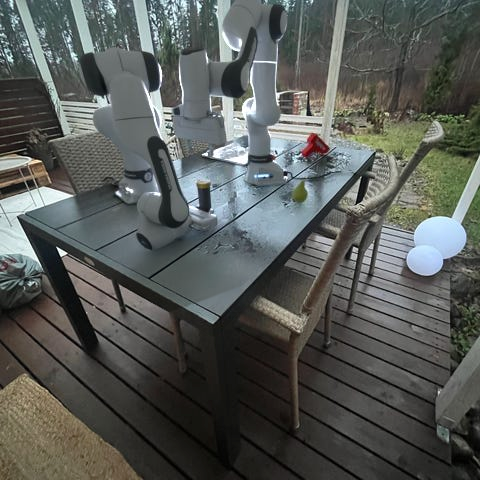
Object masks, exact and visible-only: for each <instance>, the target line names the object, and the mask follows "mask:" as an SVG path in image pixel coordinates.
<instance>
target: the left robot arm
mask: <svg viewBox="0 0 480 480" xmlns="http://www.w3.org/2000/svg"><path fill="white" fill-rule="evenodd" d="M78 72H79V76H80V79H81V81H82V83H83V85H84V87H85V88H87V91H89V92H90V93H91V94H92V95H94V96H98V97H101V99H103V100H105V96H107V100H108V101H109V104H110V105H105V106H102V107H98V108H95V110H94V111H93V114H92V123H93V126H94V127H95V129H96V131H97V132H98V133H99V134H100V135H102V136H104V137H106V138H108V139H109V140H110V141H111V142H112V143H113V144H114V145H115V146H116V147H117V149H118V151H119V153H120V155H121V158H122V161H123V165H124V167H123V168H122V172H123V174H124V176H123V177H122V179H121V180H120V181H119V182H118V184H115V183H116V182H117V180H116V178H114V177H111V176H106V177H104V181H106V180H108V179H110V180H112V182H111V186H112V187H115V188H118V190H117V191H115V192H114V194H115V196H116V197H117V198H119V199H120V200H122V201H123V202H124V203H125V204H127V205H133V204H136V208H135V209H136V213H137V215H138V227H137V230H136V233H135V236H136V239H137V241H138V242H139V244H140V245H141V246H142V247H143V248H145V249H146V250H149V251H156V250H159V249H161V248H163V247H165V246H168V245H169V244H171V243H173V241H174V240H175V239H180V238H181V237H183V236H185V235H186V234H188V233H190V232H191V231H192V230H193V229H194V230H196V231H198V232H199V231H200V232H206V231H210V230H212V229H214V228H216V227H217V226H218V225H219V223H218V215H216V214H215V209H214V208H212V209H209V210H208V212H204V211H202V210H200V209H199V204H197V205H189V202H188V200H187V198H186V196H185V195H184V193H183V191H182V187H181V185H180V181H179V178H178V175H177V172H176V169H175V164H174V162H173V158H172V156H171V155H172V154H171V151H170V150H169V148H168V145H167V144H166V142H165V140H164V139H163V138H162V135H161V133H160V130H159V129H160V128H161V125H162V116H161V113H160V111H159V110H158V108H157V107H156V106H155V105H153V103H152V100H151V97H150V95H149V94H151V93H154V92H157V91H159V89H160V88H161V86H162V79H163V78H162V77H163V74H162V73H163V72H162V69H161V65H160V63H159V61H158V59H157V57H156V56H155V54H153V53H152V52H149V51H145V50H140V51H136V50H127V49H123V48H121V47H116V46H112V47H108V48H107V49H105V51H100V52H99V51H98V52H93V51H91V52H86V53H83V54H81V56H80V57H79V64H78ZM153 174H154V175H153Z"/></svg>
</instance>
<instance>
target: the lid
mask: <svg viewBox="0 0 480 480" xmlns="http://www.w3.org/2000/svg"><path fill="white" fill-rule="evenodd" d="M195 185H196V188H197V187H198V188H208V187H210V188H211V186H212V185H211V180H210V179H209V178H200V179H197V180H196V181H195Z"/></svg>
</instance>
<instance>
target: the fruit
mask: <svg viewBox="0 0 480 480" xmlns="http://www.w3.org/2000/svg"><path fill="white" fill-rule="evenodd" d="M306 177H307V178H309V177H311V175H310V174H309V175H308V176H306ZM307 178H306V179H301V181H300V182H298V184H297V185H296V186H295V187H294V188H293V190H292V191H291V198H292V200H293V201H294V202H295V203H297V204H301V203H304V202H305V201H306V200H307V198H308V196H309V195H308V190H307V189H306V184H305V183H306V180H308V179H307Z"/></svg>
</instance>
